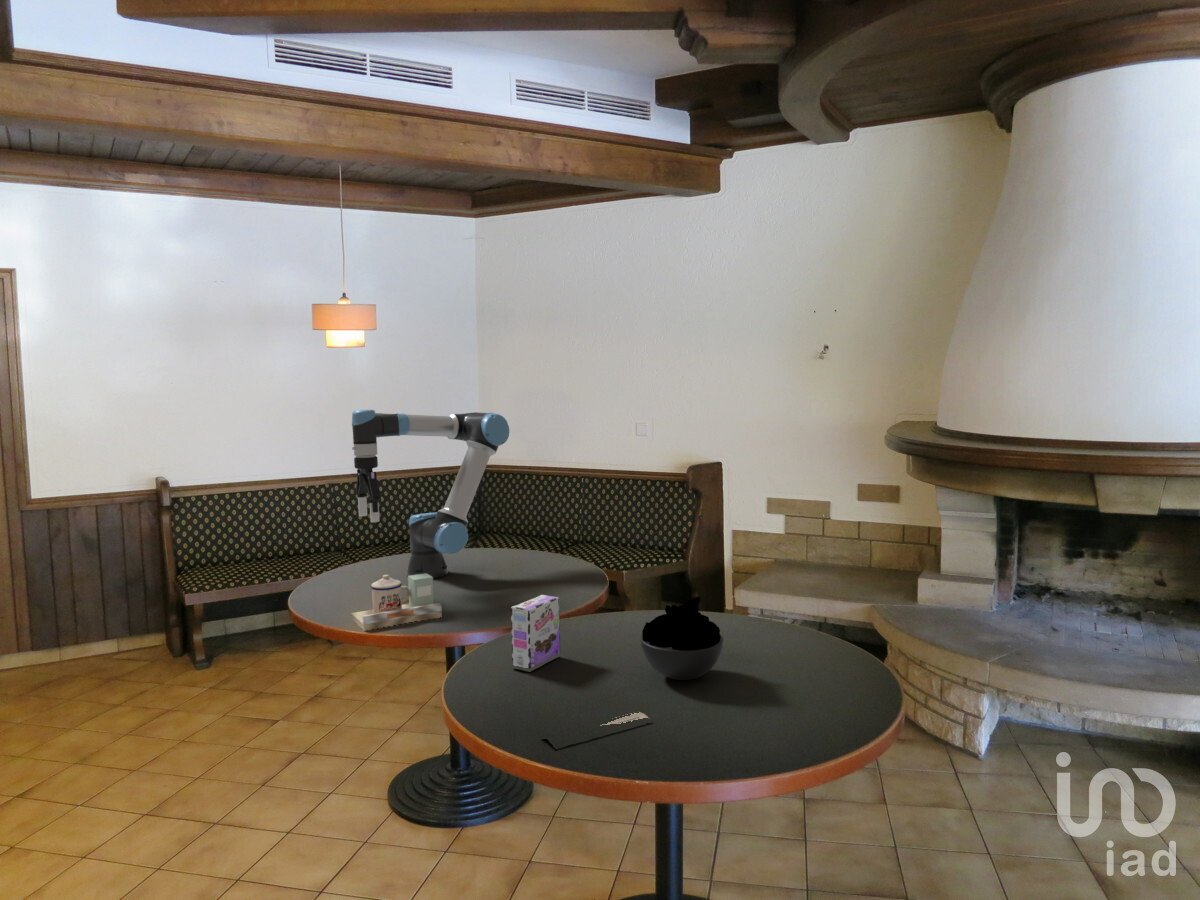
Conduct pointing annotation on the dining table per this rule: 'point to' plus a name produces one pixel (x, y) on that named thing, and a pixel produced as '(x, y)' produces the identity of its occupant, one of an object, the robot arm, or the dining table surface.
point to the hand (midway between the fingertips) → (369, 519)
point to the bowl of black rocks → (682, 642)
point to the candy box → (535, 631)
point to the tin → (420, 590)
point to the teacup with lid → (387, 595)
